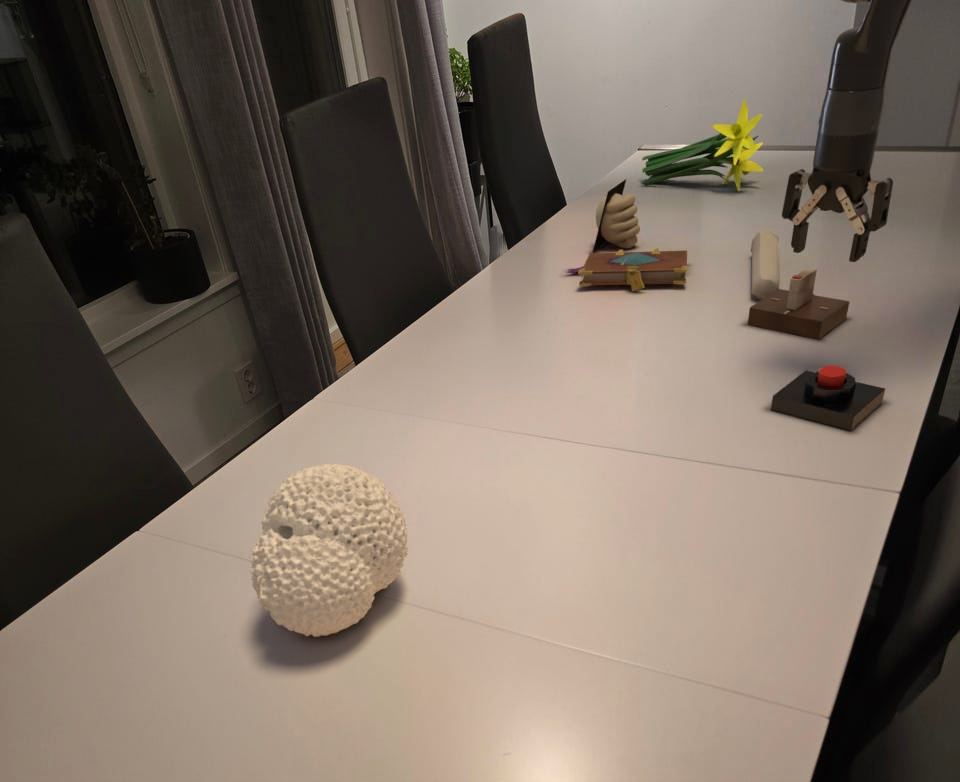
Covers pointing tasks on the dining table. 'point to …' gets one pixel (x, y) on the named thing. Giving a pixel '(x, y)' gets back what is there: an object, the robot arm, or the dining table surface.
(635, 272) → the book
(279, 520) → the cream bumpy rounded lump
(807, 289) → the knob
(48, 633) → the dining table surface
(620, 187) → the decorative object
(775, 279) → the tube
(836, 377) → the button
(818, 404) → the button box
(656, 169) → the daffodil flowers
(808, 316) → the knob panel
